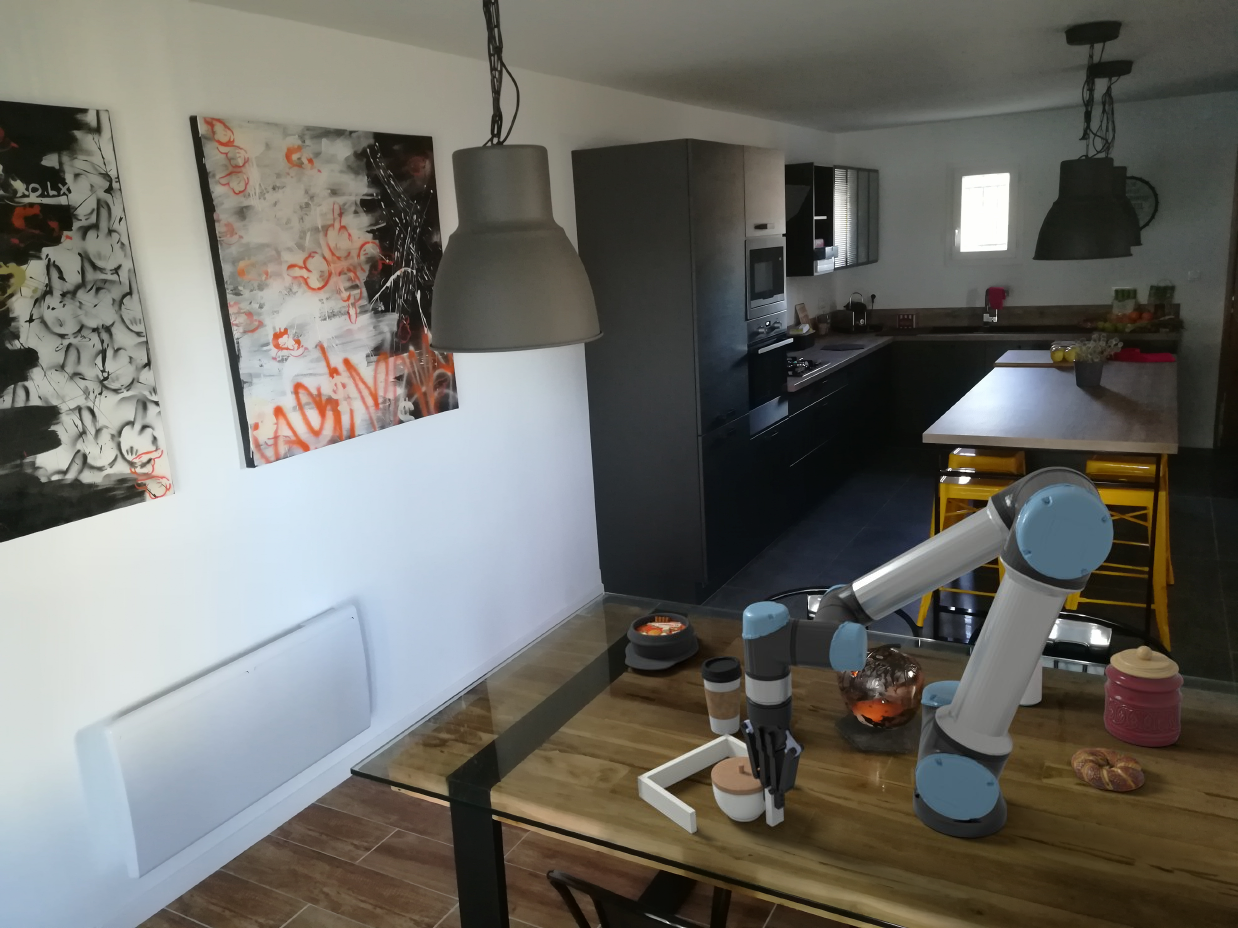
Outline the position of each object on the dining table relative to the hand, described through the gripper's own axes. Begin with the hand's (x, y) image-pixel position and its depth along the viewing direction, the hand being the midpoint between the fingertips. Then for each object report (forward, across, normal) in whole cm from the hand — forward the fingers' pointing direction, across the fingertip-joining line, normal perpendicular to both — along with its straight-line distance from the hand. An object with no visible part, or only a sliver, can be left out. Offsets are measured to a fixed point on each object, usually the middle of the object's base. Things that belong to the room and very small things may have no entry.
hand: (775, 821), depth 153 cm
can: (+2, -4, -70) cm, 70 cm away
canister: (+2, -26, -74) cm, 78 cm away
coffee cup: (+2, +32, -18) cm, 36 cm away
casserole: (+2, +70, -31) cm, 76 cm away
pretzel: (+2, -29, -55) cm, 62 cm away
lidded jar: (+2, +8, 0) cm, 8 cm away
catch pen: (+2, +17, 0) cm, 17 cm away
